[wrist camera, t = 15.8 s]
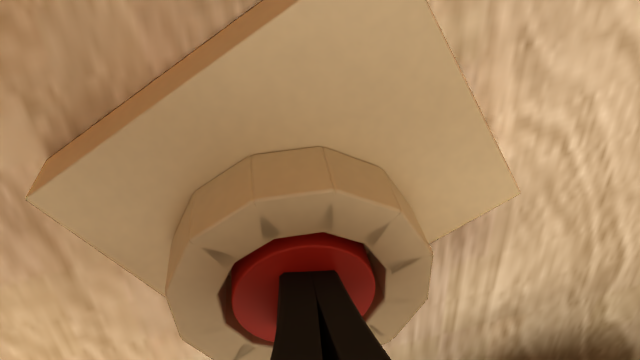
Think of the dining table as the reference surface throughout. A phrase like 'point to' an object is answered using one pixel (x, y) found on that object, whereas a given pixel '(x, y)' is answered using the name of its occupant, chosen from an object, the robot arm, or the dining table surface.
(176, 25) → the dining table surface
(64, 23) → the dining table surface
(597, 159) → the dining table surface
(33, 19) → the dining table surface
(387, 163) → the button box
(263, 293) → the button
